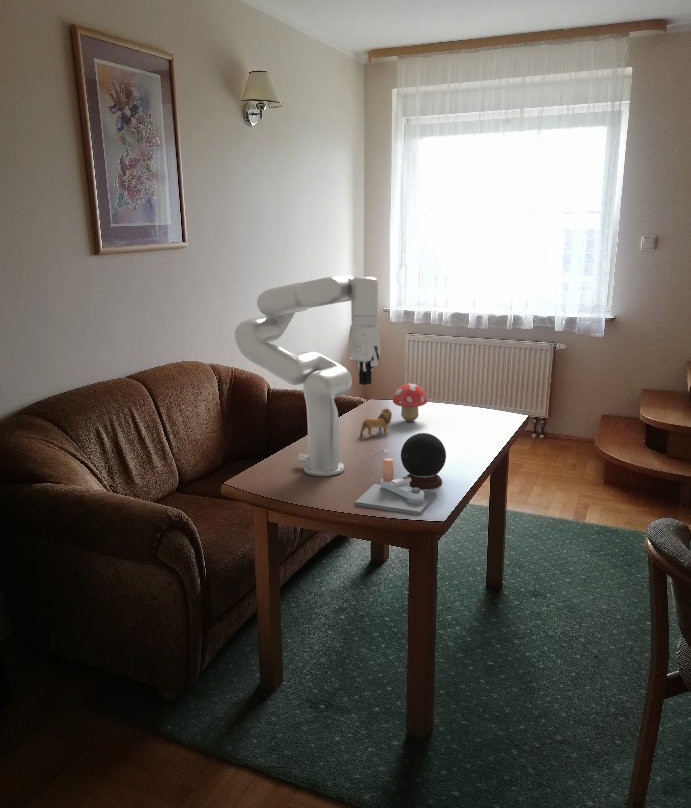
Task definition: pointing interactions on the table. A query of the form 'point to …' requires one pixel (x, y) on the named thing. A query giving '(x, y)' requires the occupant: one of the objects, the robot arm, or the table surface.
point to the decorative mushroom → (409, 400)
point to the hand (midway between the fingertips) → (365, 383)
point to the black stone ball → (423, 460)
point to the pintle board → (394, 499)
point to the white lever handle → (402, 489)
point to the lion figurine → (377, 422)
